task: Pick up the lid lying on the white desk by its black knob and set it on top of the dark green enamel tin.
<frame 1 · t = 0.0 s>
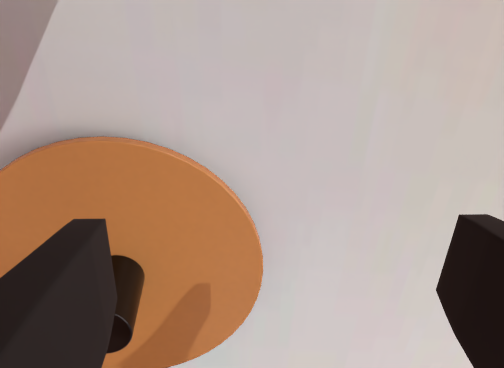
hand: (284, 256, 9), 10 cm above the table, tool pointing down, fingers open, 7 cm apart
lid: (120, 268, 21), point 1 cm above the table
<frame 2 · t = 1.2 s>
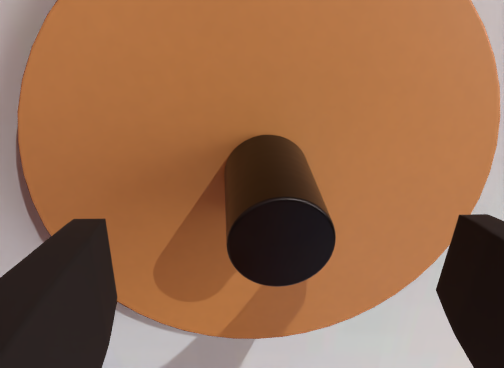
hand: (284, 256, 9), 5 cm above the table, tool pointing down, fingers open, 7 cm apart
lid: (264, 164, 13), point 1 cm above the table
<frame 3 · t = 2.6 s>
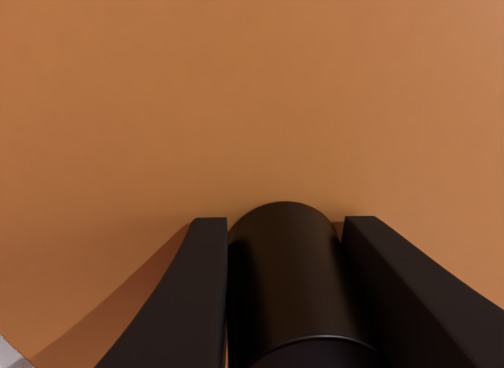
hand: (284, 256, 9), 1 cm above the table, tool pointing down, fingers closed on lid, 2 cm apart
lid: (278, 234, 10), point 1 cm above the table, touching gripper
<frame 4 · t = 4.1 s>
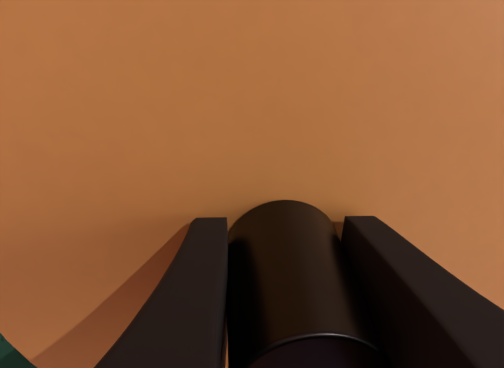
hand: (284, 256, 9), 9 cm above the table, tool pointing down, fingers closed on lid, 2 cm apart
tin: (121, 306, 21), on the table
lid: (278, 233, 10), point 8 cm above the table, touching gripper
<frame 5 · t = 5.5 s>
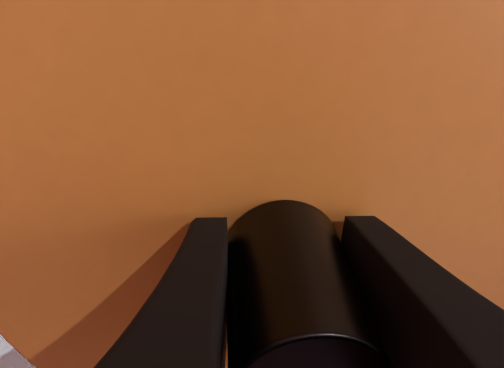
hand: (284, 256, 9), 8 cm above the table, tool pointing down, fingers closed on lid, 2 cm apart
lid: (278, 233, 10), point 7 cm above the table, touching gripper
when the fingers open (7 cm above the table, at t = 6.0 s): lid stays where it is, resting on tin.
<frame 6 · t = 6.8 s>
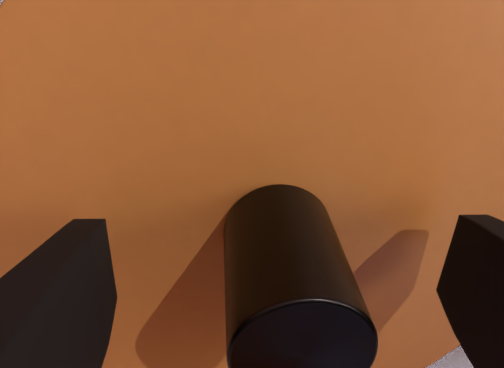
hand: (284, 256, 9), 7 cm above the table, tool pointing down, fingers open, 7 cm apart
lid: (274, 217, 10), point 6 cm above the table, touching tin
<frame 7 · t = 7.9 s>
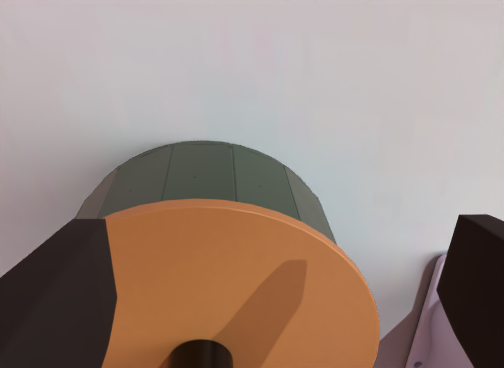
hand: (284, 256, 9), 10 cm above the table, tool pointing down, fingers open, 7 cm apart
tin: (205, 254, 22), on the table
lid: (201, 350, 17), point 6 cm above the table, touching tin
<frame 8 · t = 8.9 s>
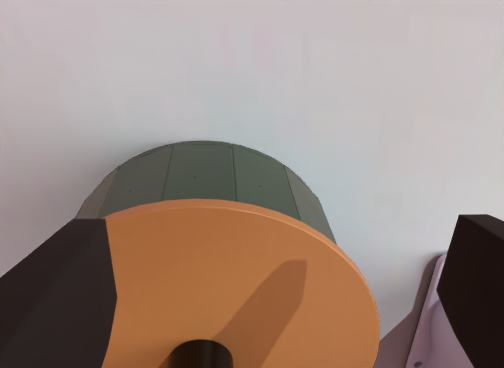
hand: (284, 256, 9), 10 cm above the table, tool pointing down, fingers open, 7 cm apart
tin: (205, 254, 22), on the table
lid: (201, 350, 17), point 6 cm above the table, touching tin
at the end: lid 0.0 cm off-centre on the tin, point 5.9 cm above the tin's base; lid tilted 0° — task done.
